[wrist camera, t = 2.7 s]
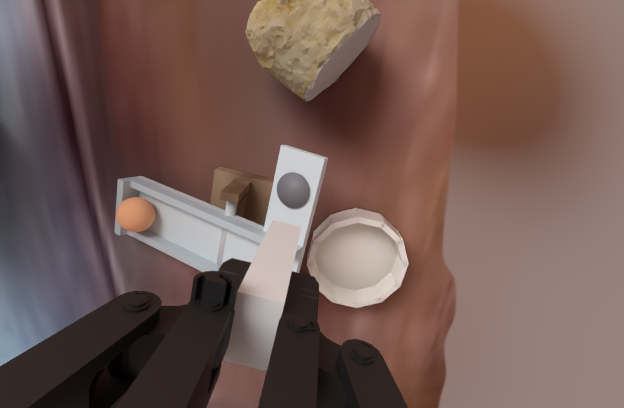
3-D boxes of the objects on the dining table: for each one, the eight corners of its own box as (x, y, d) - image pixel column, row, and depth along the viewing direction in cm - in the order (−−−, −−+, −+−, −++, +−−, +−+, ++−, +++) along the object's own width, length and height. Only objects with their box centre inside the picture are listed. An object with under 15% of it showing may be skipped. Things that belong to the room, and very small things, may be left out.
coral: (324, 143, 27) (228, 48, 22) (304, 98, 35) (229, 20, 29) (422, 58, 24) (341, -77, 19) (375, 30, 32) (309, -71, 27)
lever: (137, 238, 38) (113, 246, 35) (148, 101, 33) (122, 99, 31) (288, 315, 31) (273, 331, 29) (328, 158, 27) (315, 160, 24)
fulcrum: (204, 265, 39) (181, 296, 32) (219, 166, 35) (196, 180, 29) (254, 276, 39) (241, 310, 33) (274, 179, 35) (264, 196, 29)
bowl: (300, 280, 39) (298, 295, 36) (321, 198, 36) (321, 207, 33) (385, 299, 39) (390, 315, 36) (413, 220, 36) (420, 231, 33)
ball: (130, 220, 36) (106, 231, 32) (132, 189, 35) (108, 198, 31) (160, 228, 35) (140, 241, 32) (163, 198, 34) (142, 208, 31)
